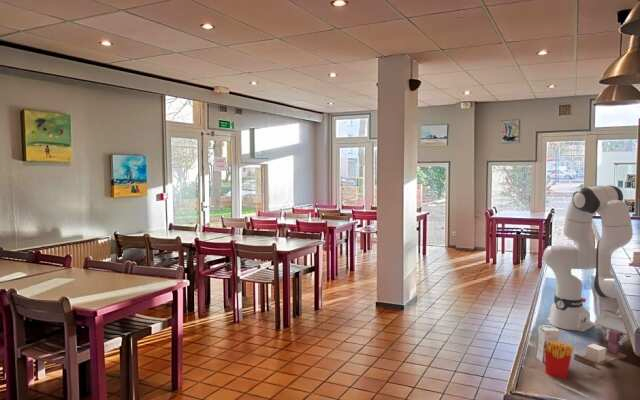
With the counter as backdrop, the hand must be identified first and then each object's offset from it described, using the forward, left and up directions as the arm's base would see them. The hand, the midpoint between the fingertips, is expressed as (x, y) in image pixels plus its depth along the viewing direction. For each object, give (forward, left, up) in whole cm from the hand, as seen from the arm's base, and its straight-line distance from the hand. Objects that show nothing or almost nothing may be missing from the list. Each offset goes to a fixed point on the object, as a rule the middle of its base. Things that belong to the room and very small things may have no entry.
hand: (613, 342), depth 209 cm
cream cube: (+12, 0, -5) cm, 13 cm away
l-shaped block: (+8, 0, -6) cm, 10 cm away
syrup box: (+31, -9, -6) cm, 33 cm away
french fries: (+39, +1, -6) cm, 40 cm away
